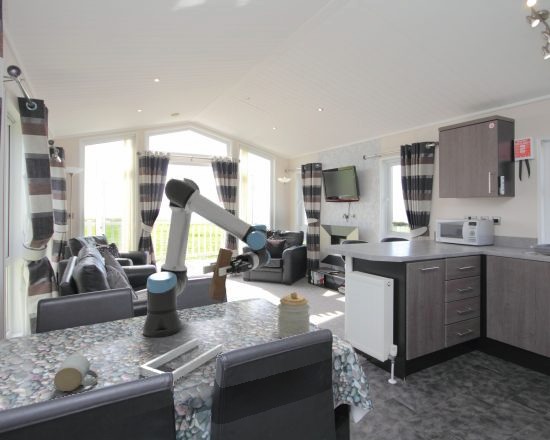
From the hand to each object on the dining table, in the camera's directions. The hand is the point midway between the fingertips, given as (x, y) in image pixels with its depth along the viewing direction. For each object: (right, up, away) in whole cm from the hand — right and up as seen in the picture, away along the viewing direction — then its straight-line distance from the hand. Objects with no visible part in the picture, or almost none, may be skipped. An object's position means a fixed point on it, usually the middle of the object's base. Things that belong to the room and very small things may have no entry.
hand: (211, 271), depth 120 cm
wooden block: (+1, -10, +3) cm, 11 cm away
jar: (+31, -28, +12) cm, 43 cm away
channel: (-7, -28, -12) cm, 32 cm away
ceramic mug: (-34, -29, -25) cm, 51 cm away
